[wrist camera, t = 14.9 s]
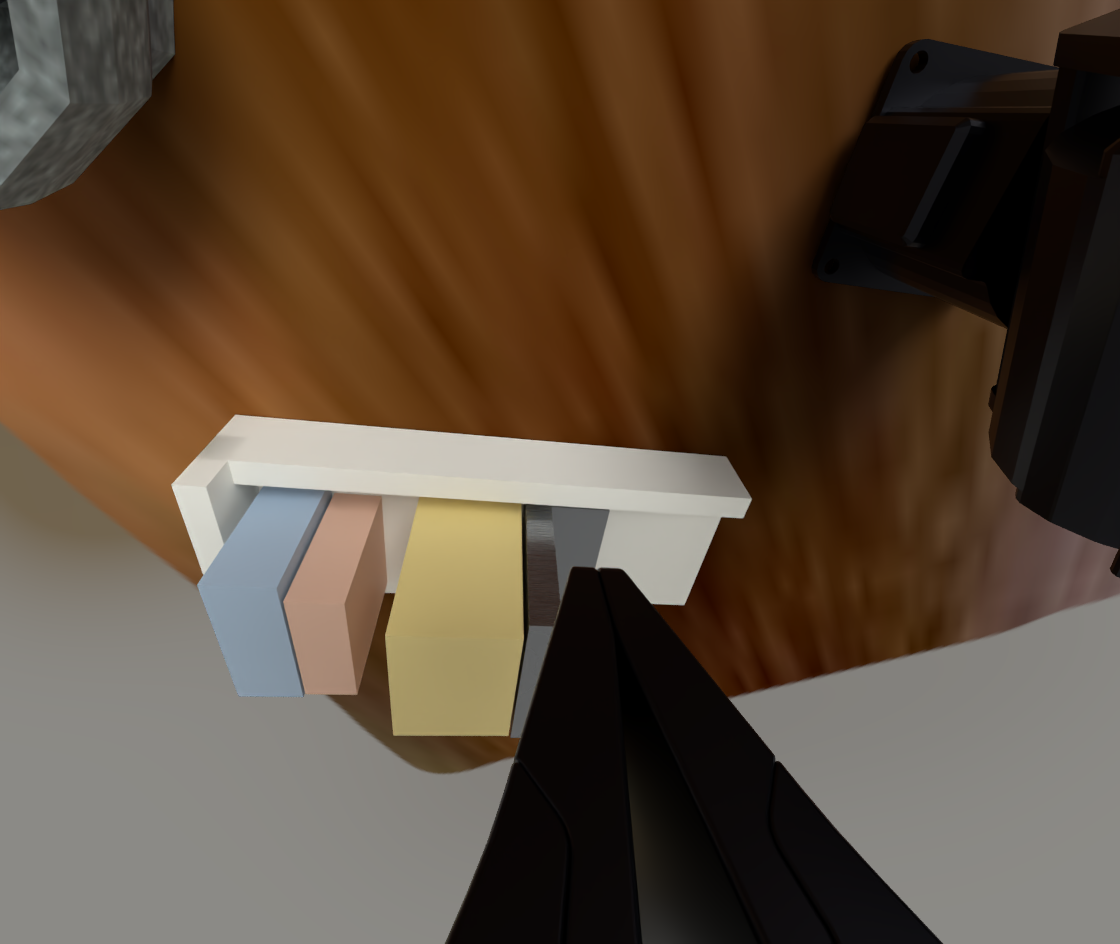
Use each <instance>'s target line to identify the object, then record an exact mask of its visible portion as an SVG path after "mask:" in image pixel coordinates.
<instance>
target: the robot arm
mask: <svg viewBox="0 0 1120 944" xmlns="http://www.w3.org/2000/svg"><path fill="white" fill-rule="evenodd" d="M916 53H917V54H918V56H919V63H918V66H917V67H916V69H915V70H914V71H913V72H911V71H910V68H909V65H910V61H911V59H912V57H913V56H914V54H916ZM1053 65H1054V66H1057V67H1053V66H1049V65H1044V64H1039V63H1035V62H1030V61H1026V60H1021V59H1017V58H1012V57H1008V56H1003V55H999V54H994V53H989V52H985V51H980V50H976V49H971V48H967V47H962V46H958V45H953V44H949V43H944V42H940V41H935V40H930V39H923V40H916V41H912V42H910V43H908V44H906V45H905V46H904V47H903V48H902V49H901V50H900V51H899V52H898V54H897V56H896V58H895V59H894V62H893V64H892V67H891V69H890V72H889V74H888V77H887V79H886V82H885V84H884V87H883V89H882V92H881V94H880V96H879V99H878V101H877V104H876V106H875V109H874V111H873V114H872V116H871V119H870V120H869V121H868V122H867V123H866V124H865V125H864V126H863V129H862V131H861V134H860V136H859V139H858V141H857V144H856V146H855V149H854V151H853V154H852V156H851V159H850V161H849V164H848V166H847V169H846V171H845V174H844V176H843V179H842V181H841V184H840V186H839V189H838V191H837V194H836V196H835V199H834V201H833V204H832V206H831V209H830V216H831V218H830V220H829V223H828V225H827V228H826V230H825V233H824V235H823V238H822V240H821V243H820V245H819V248H818V250H817V253H816V255H815V258H814V260H813V263H812V273H813V274H814V276H815V277H817V278H818V279H820V280H823V281H825V282H831V283H838V284H846V285H853V286H860V287H867V288H874V289H881V290H888V291H895V292H903V293H910V294H917V295H924V296H931V297H936V298H939V299H941V300H943V301H945V302H948V303H950V304H952V305H954V306H957V307H959V308H961V309H963V310H966V311H968V312H970V313H972V314H975V315H977V316H979V317H981V318H984V319H986V320H988V321H990V322H993V323H995V324H997V325H999V326H1002V327H1004V328H1006V329H1007V334H1006V339H1005V344H1004V349H1003V354H1002V359H1001V364H1000V369H999V374H998V380H997V385H994V386H993V387H992V388H991V393H990V398H989V403H988V404H989V407H990V409H991V410H992V412H993V413H992V418H991V423H990V428H989V440H990V449H991V457H992V458H993V460H994V461H995V462H996V463H997V465H998V466H999V467H1000V469H1001V470H1002V471H1003V473H1004V474H1005V475H1006V476H1007V478H1008V479H1009V480H1010V482H1011V483H1012V484H1013V485H1015V486H1016V487H1017V489H1016V499H1017V500H1018V501H1019V503H1021V504H1022V505H1024V506H1026V507H1027V508H1029V509H1030V510H1032V511H1033V512H1035V513H1036V514H1038V515H1040V516H1041V517H1043V518H1044V519H1046V520H1047V521H1049V522H1051V523H1053V524H1056V525H1058V526H1060V527H1062V528H1065V529H1067V530H1069V531H1071V532H1074V533H1076V534H1078V535H1081V536H1083V537H1085V538H1087V539H1090V540H1092V541H1094V542H1097V543H1100V544H1103V545H1106V546H1110V547H1113V548H1116V549H1119V550H1118V552H1117V554H1116V556H1115V558H1114V561H1113V563H1112V565H1111V567H1110V570H1111V572H1112V573H1113V574H1114V575H1115V576H1117V577H1119V578H1120V9H1118V10H1115V11H1113V12H1110V13H1108V14H1105V15H1102V16H1100V17H1097V18H1094V19H1092V20H1089V21H1086V22H1084V23H1081V24H1079V25H1076V26H1073V27H1071V28H1068V29H1065V30H1063V31H1061V32H1060V33H1059V38H1058V43H1057V48H1056V53H1055V58H1054V64H1053ZM1058 67H1059V68H1058ZM831 259H833V260H834V261H833V265H832V267H831V268H830V269H829V270H827V271H824V268H825V265H826V263H827V262H828V261H829V260H831ZM445 944H943V943H942V942H941V941H940V940H939V939H938V938H937V937H936V936H935V934H934V933H933V932H932V931H931V930H930V929H929V928H928V927H927V926H926V925H925V924H924V923H923V922H922V921H921V920H920V919H919V918H918V917H917V915H916V914H915V913H914V912H913V911H912V910H911V909H910V908H909V907H908V906H907V905H906V904H905V903H904V902H903V901H902V900H901V899H900V897H898V895H897V894H896V893H895V892H894V891H893V890H892V889H891V888H890V887H889V886H888V885H887V884H886V883H885V882H884V881H883V880H882V878H881V877H880V876H879V875H878V874H877V873H876V872H875V871H874V870H873V869H872V868H871V867H870V865H869V864H868V863H867V862H866V861H865V860H864V859H863V858H862V857H861V856H860V854H858V852H857V851H856V850H855V849H854V848H853V847H852V846H851V845H850V844H849V842H848V841H847V840H846V839H845V838H844V837H843V836H842V835H841V834H840V833H839V831H838V830H837V829H836V828H835V827H834V826H833V825H832V823H831V822H830V821H829V820H828V819H827V818H826V816H825V815H824V814H823V813H822V812H821V810H820V809H819V808H818V807H817V806H816V805H815V803H814V802H813V801H812V800H811V799H810V797H809V796H808V795H807V794H806V793H805V792H804V790H803V789H802V788H801V787H800V786H799V784H798V783H797V782H796V781H795V779H794V778H793V777H792V776H791V774H790V773H789V772H788V771H787V770H786V768H785V767H784V766H783V765H782V763H780V762H779V761H776V762H775V755H774V754H773V753H772V751H771V750H770V749H769V748H768V747H767V746H766V744H765V743H764V742H763V741H762V739H761V738H760V737H759V736H758V734H757V733H756V732H755V731H754V729H753V728H752V727H751V726H750V724H749V723H748V722H747V721H746V720H745V718H744V717H743V716H742V715H741V713H740V712H739V711H738V710H737V708H736V707H735V706H734V705H733V704H732V702H731V701H730V700H729V699H728V697H727V696H726V695H725V694H724V692H723V691H722V690H721V689H720V688H719V686H718V685H717V684H716V683H715V681H714V680H713V679H712V678H711V677H710V675H709V674H708V673H707V672H706V670H705V669H704V668H703V667H702V665H701V664H700V663H699V662H698V661H697V659H696V658H695V657H694V656H693V654H692V653H691V652H690V651H689V649H688V648H687V647H686V646H685V645H684V643H683V642H682V641H681V640H680V638H679V637H678V636H677V635H676V633H675V632H674V631H673V630H672V629H671V627H670V626H669V625H668V624H667V622H666V621H665V620H664V619H663V618H662V616H661V615H660V614H659V613H658V611H657V610H656V609H655V608H654V606H653V605H652V604H651V603H650V602H649V600H648V599H647V598H646V597H645V595H644V594H643V593H642V592H641V590H640V589H639V588H638V587H637V586H636V584H635V583H634V582H633V581H632V579H631V578H630V577H629V576H628V574H627V573H626V572H625V571H624V570H622V569H620V568H605V567H601V568H598V569H597V570H596V568H594V567H585V566H573V567H572V568H571V569H570V572H569V575H568V579H567V582H566V585H565V589H564V592H563V595H562V599H561V602H560V605H559V609H558V612H557V616H556V619H555V622H554V626H553V629H552V632H551V636H550V639H549V643H548V646H547V649H546V653H545V656H544V659H543V663H542V666H541V670H540V673H539V676H538V680H537V683H536V686H535V690H534V693H533V697H532V700H531V703H530V707H529V710H528V713H527V717H526V720H525V723H524V727H523V730H522V734H521V737H520V740H519V744H518V747H517V750H516V754H515V757H514V763H513V764H512V766H511V770H510V773H509V776H508V780H507V783H506V787H505V790H504V793H503V797H502V799H501V803H500V806H499V809H498V811H497V814H496V817H495V821H494V824H493V826H492V829H491V832H490V836H489V838H488V841H487V844H486V846H485V849H484V851H483V854H482V856H481V859H480V861H479V864H478V866H477V869H476V871H475V874H474V876H473V879H472V881H471V884H470V886H469V889H468V891H467V894H466V896H465V898H464V901H463V903H462V905H461V908H460V910H459V912H458V914H457V917H456V919H455V921H454V924H453V926H452V929H451V931H450V933H449V935H448V938H447V940H446V942H445Z"/></svg>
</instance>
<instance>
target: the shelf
mask: <svg viewBox="0 0 1120 944" xmlns="http://www.w3.org/2000/svg"><path fill="white" fill-rule="evenodd" d="M172 488H173V491H174V494H175V497H176V499H177V502H178V505H179V508H180V511H181V513H182V516H183V519H184V522H185V525H186V527H187V530H188V533H189V536H190V539H191V541H192V544H193V547H194V550H195V553H196V555H197V558H198V561H199V564H200V567H201V569H202V572H203V577H202V578H201V580H200V581H199V583H198V584H197V586H198V589H199V592H200V594H201V597H202V599H203V602H204V605H205V608H206V610H207V613H208V616H209V619H210V621H211V624H212V626H213V629H214V632H215V635H216V637H217V640H218V643H219V645H220V648H221V651H222V653H223V656H224V659H225V661H226V664H227V667H228V669H229V672H230V675H231V677H232V680H233V683H234V686H235V688H236V691H237V694H238V696H250V697H254V696H256V697H304V694H333V695H357V694H358V690H359V686H360V683H361V679H362V675H363V671H364V668H365V664H366V660H367V657H368V653H369V649H370V645H371V642H372V638H373V634H374V631H375V627H376V623H377V619H378V616H379V612H380V608H381V605H382V601H383V597H384V593H396V589H397V585H398V581H399V577H400V573H401V569H402V565H403V561H404V557H405V553H406V549H407V545H408V541H409V537H410V533H411V529H412V525H413V520H414V516H415V512H416V508H417V504H418V500H419V497H433V498H448V499H463V500H478V501H493V502H507V503H521V511H522V517H523V510H524V504H537V505H552V506H567V507H582V508H596V509H609V510H610V512H609V516H608V520H607V524H606V528H605V531H604V535H603V539H602V543H601V547H600V551H599V555H598V559H597V563H596V567H595V568H596V570H597V569H598V568H601V567H605V568H620V569H622V570H624V571H625V572H626V573H627V574H628V576H629V577H630V578H631V579H632V581H633V582H634V583H635V584H636V586H637V587H638V588H639V589H640V590H641V592H642V593H643V594H644V595H645V597H646V598H647V599H648V600H649V602H650V603H651V604H670V605H685V602H686V600H687V598H688V595H689V593H690V590H691V588H692V586H693V583H694V581H695V578H696V576H697V574H698V571H699V569H700V567H701V564H702V562H703V559H704V557H705V555H706V552H707V550H708V548H709V545H710V543H711V540H712V538H713V536H714V533H715V531H716V528H717V526H718V524H719V521H720V519H721V517H730V518H744V515H745V513H746V511H747V509H748V507H749V504H750V502H751V500H752V498H751V496H750V495H749V493H748V492H747V490H746V488H745V487H744V485H743V483H742V482H741V480H740V478H739V477H738V475H737V473H736V472H735V470H734V469H733V467H732V465H731V464H730V462H729V460H728V459H727V457H726V456H714V455H702V454H691V453H679V452H667V451H655V450H644V449H632V448H620V447H608V446H597V445H585V444H573V443H561V442H550V441H538V440H526V439H514V438H503V437H491V436H479V435H467V434H456V433H444V432H432V431H420V430H409V429H397V428H385V427H373V426H362V425H350V424H338V423H326V422H315V421H303V420H291V419H279V418H268V417H256V416H244V415H235V416H234V417H233V418H232V419H231V420H230V421H229V422H228V423H227V424H226V426H225V427H224V428H223V429H222V430H221V431H220V432H219V433H218V434H217V435H216V436H215V438H214V439H213V440H212V441H211V442H210V443H209V444H208V445H207V446H206V447H205V448H204V450H203V451H202V452H201V453H200V454H199V455H198V456H197V457H196V458H195V459H194V461H193V462H192V463H191V464H190V465H189V466H188V467H187V468H186V469H185V470H184V471H183V473H182V474H181V475H180V476H179V477H178V478H177V479H176V480H175V481H174V482H173V483H172Z"/></svg>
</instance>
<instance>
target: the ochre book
mask: <svg viewBox="0 0 1120 944" xmlns="http://www.w3.org/2000/svg"><path fill="white" fill-rule="evenodd" d="M523 640H524V632H523V571H522V511H521V503H507V502H493V501H478V500H463V499H448V498H433V497H419V500H418V504H417V508H416V512H415V516H414V520H413V525H412V529H411V533H410V537H409V541H408V545H407V549H406V553H405V557H404V561H403V565H402V569H401V573H400V577H399V581H398V585H397V589H396V593H395V598H394V602H393V606H392V610H391V614H390V618H389V622H388V626H387V630H386V634H385V641H386V653H387V665H388V677H389V689H390V701H391V713H392V726H393V736H508V734H509V728H510V722H511V715H512V709H513V703H514V697H515V690H516V684H517V678H518V672H519V665H520V659H521V653H522V647H523Z"/></svg>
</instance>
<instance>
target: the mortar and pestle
mask: <svg viewBox="0 0 1120 944" xmlns="http://www.w3.org/2000/svg"><path fill="white" fill-rule="evenodd" d="M174 55H175V41H174V14H173V0H0V210H2V209H8V208H13V207H18V206H23V205H28V204H32V203H34V202H36V201H38V200H40V199H42V198H44V197H46V196H48V195H50V194H52V193H54V192H56V191H58V190H60V189H62V188H64V187H66V186H68V185H70V184H72V183H74V182H75V181H76V180H77V178H78V177H79V176H80V175H81V174H82V173H83V172H84V171H85V170H86V168H87V167H88V166H89V165H90V164H91V163H92V162H93V161H94V159H95V158H96V157H97V156H98V155H99V154H100V153H101V152H102V151H103V149H104V148H105V147H106V146H107V145H108V144H109V143H110V142H111V141H112V139H113V138H114V137H115V136H116V135H117V134H118V133H119V132H120V131H121V129H122V128H123V127H124V126H125V125H126V124H127V123H128V122H129V120H130V119H131V118H132V117H133V116H134V115H135V114H136V113H137V112H138V110H139V109H140V108H141V107H142V106H143V105H144V104H145V103H146V102H147V100H148V99H149V98H150V97H151V95H152V80H153V79H154V77H155V76H156V75H157V74H158V73H159V72H160V71H161V70H162V68H163V67H164V66H165V65H166V64H167V63H168V62H169V61H170V59H171V58H172V57H173V56H174Z"/></svg>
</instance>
